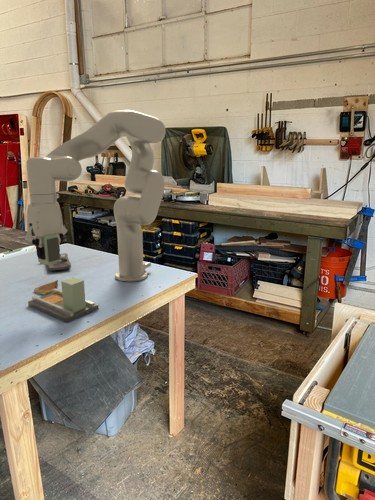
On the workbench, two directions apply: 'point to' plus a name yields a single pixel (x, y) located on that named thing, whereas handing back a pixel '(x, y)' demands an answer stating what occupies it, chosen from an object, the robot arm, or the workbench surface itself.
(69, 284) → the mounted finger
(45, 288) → the shard
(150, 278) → the workbench surface
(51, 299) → the dark grey tray
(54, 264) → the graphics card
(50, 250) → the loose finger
